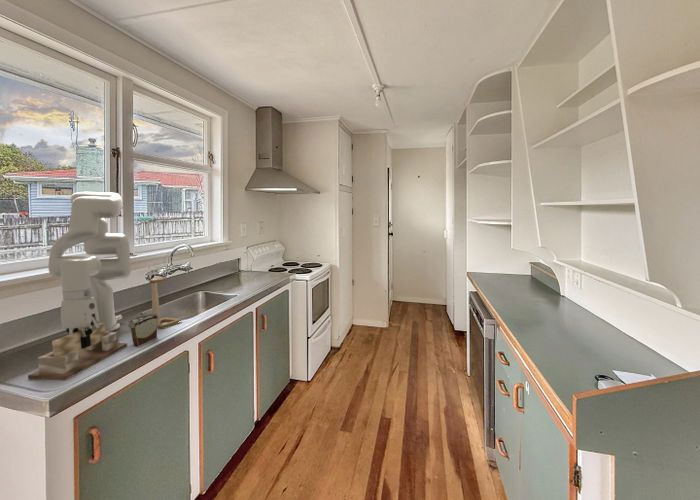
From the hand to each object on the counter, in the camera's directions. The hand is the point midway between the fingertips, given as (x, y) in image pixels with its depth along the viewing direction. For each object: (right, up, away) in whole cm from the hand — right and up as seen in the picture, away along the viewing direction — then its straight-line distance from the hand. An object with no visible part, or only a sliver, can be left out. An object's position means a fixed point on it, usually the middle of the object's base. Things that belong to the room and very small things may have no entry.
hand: (81, 346), depth 113 cm
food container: (+9, -4, +18) cm, 21 cm away
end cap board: (0, -5, +1) cm, 5 cm away
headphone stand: (+7, -1, +38) cm, 39 cm away
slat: (0, -1, 0) cm, 1 cm away
